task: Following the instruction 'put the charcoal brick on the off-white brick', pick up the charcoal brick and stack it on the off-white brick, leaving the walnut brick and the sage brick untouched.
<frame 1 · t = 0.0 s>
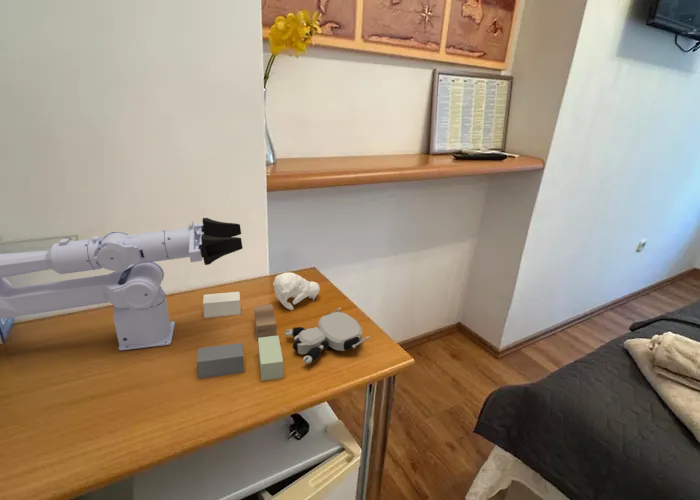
hand: (241, 235, 78), 22 cm above the table, tool horizontal, fingers open, 7 cm apart
walnut brick: (265, 329, 86), on the table
sage brick: (270, 365, 75), on the table
off-white brick: (222, 312, 91), on the table
charcoal brick: (222, 369, 74), on the table
robot toy: (325, 345, 82), on the table
white animal figurine: (298, 302, 97), on the table
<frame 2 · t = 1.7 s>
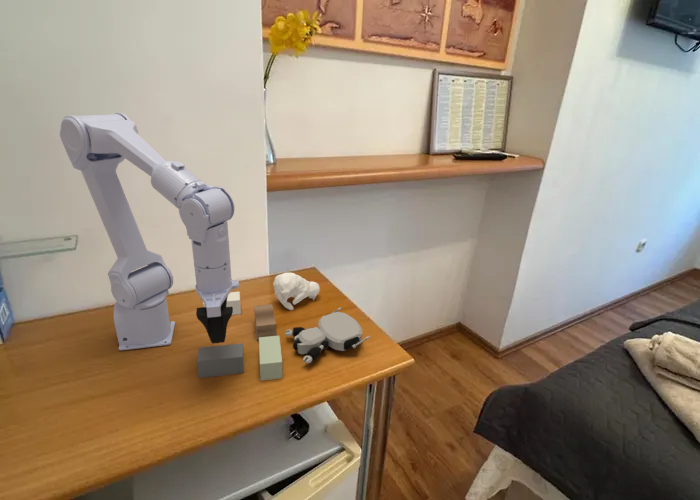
hand: (218, 328, 70), 9 cm above the table, tool pointing down, fingers open, 7 cm apart
nothing on the table moved.
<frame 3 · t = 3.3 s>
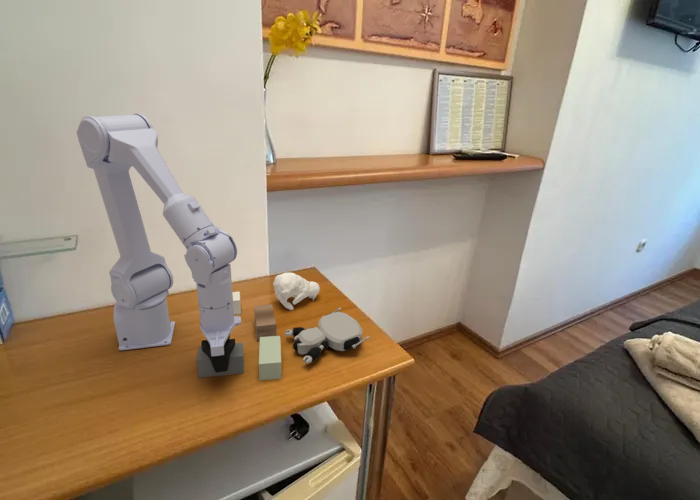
hand: (221, 362, 73), 1 cm above the table, tool pointing down, fingers closed on charcoal brick, 4 cm apart
charcoal brick: (222, 368, 74), on the table, touching gripper
everything else where it was.
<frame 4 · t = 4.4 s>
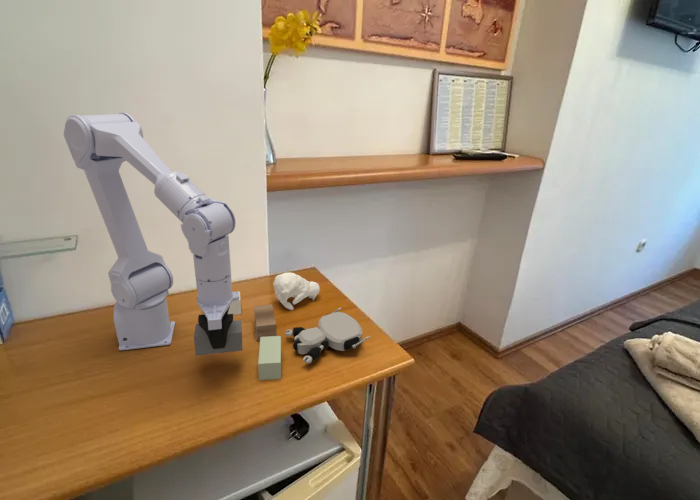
hand: (219, 339, 71), 7 cm above the table, tool pointing down, fingers closed on charcoal brick, 4 cm apart
charcoal brick: (219, 346, 72), point 5 cm above the table, touching gripper
everything else where it was.
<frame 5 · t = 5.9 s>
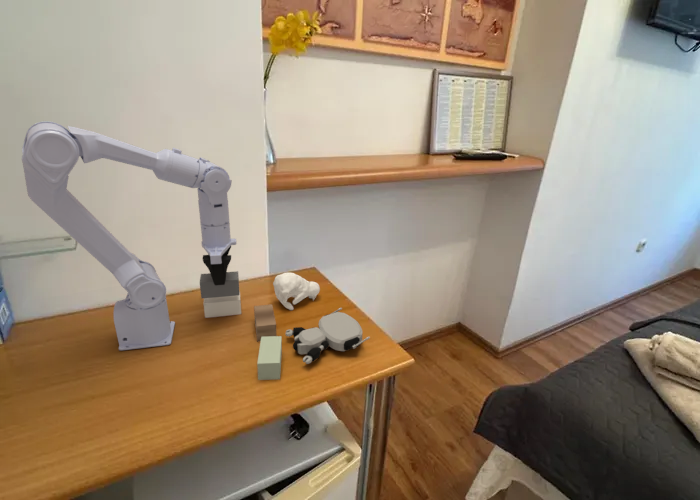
hand: (220, 279, 86), 9 cm above the table, tool pointing down, fingers closed on charcoal brick, 4 cm apart
charcoal brick: (220, 292, 87), point 6 cm above the table, touching gripper
everything else where it was.
when the fingers open (6 cm above the table, at t = 7.5 s): charcoal brick stays where it is, resting on off-white brick.
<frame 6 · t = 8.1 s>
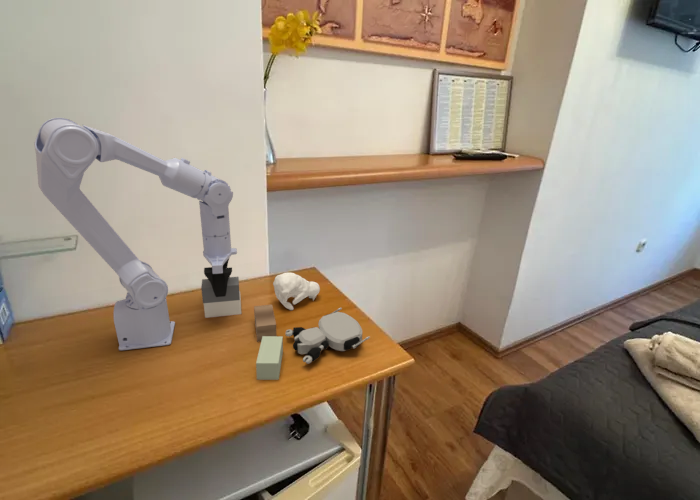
hand: (220, 287, 88), 6 cm above the table, tool pointing down, fingers open, 7 cm apart
off-white brick: (223, 311, 91), on the table, touching charcoal brick
charcoal brick: (221, 297, 90), point 4 cm above the table, touching off-white brick
everything else where it was.
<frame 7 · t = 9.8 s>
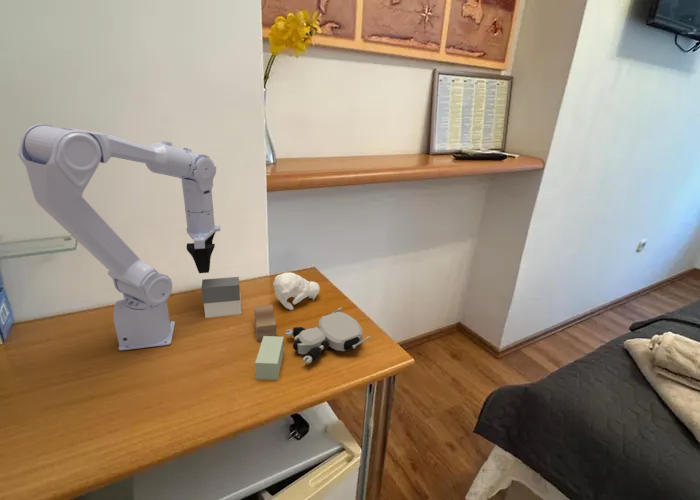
hand: (205, 264, 90), 10 cm above the table, tool pointing down, fingers open, 7 cm apart
off-white brick: (223, 311, 91), on the table
charcoal brick: (222, 297, 89), point 4 cm above the table
everything else where it was.
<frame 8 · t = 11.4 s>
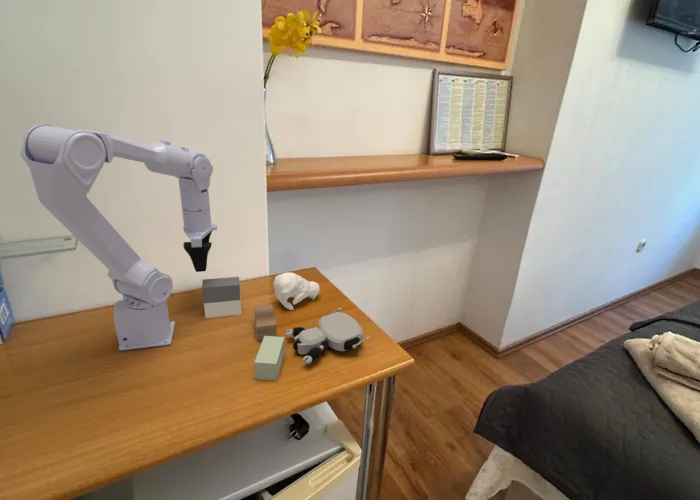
hand: (201, 263, 90), 10 cm above the table, tool pointing down, fingers open, 7 cm apart
off-white brick: (223, 312, 91), on the table, touching charcoal brick
charcoal brick: (222, 297, 89), point 4 cm above the table, touching off-white brick
everything else where it was.
at the end: charcoal brick 0.1 cm off-centre on the off-white brick, point 4.0 cm above the off-white brick's base; walnut brick moved 0.3 cm from its start; sage brick moved 0.2 cm from its start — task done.
